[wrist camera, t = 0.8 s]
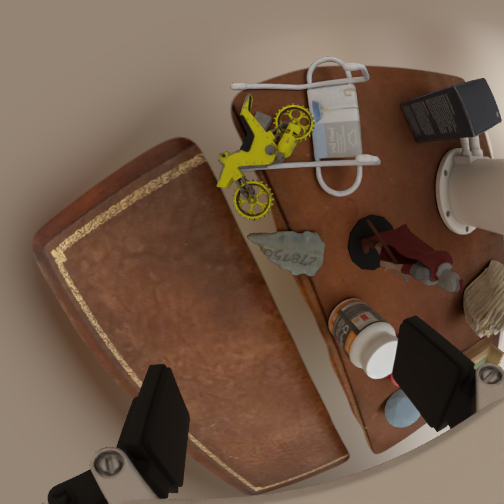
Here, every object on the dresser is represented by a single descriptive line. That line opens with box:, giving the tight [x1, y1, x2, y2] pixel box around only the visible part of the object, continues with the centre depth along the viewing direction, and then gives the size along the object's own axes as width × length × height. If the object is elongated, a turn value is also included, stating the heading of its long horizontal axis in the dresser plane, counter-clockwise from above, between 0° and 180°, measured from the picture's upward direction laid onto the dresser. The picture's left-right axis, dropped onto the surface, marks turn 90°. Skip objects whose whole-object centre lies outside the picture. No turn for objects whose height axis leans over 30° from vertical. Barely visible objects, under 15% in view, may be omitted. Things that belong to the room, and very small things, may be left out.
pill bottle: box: [329, 298, 398, 379], centre depth 27 cm, size 6×6×10 cm
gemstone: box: [385, 389, 421, 428], centre depth 36 cm, size 8×8×5 cm
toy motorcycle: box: [217, 93, 315, 220], centre depth 24 cm, size 12×4×7 cm
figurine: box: [348, 215, 463, 294], centre depth 23 cm, size 7×7×15 cm
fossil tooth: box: [463, 260, 504, 338], centre depth 29 cm, size 12×6×15 cm
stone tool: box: [247, 231, 325, 276], centre depth 28 cm, size 9×2×5 cm
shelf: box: [462, 339, 504, 370], centre depth 33 cm, size 12×10×14 cm
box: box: [401, 78, 502, 143], centre depth 21 cm, size 8×6×11 cm
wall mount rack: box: [230, 56, 381, 196], centre depth 24 cm, size 16×14×6 cm
